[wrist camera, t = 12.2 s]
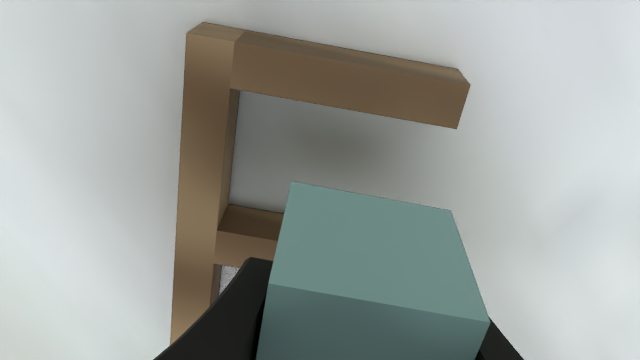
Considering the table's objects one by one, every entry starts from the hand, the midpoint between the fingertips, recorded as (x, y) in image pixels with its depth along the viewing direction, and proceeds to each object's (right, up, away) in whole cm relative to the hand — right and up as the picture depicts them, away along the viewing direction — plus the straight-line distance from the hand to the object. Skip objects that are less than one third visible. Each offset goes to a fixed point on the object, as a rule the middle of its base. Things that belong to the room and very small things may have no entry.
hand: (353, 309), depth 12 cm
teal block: (0, +1, +1) cm, 2 cm away
